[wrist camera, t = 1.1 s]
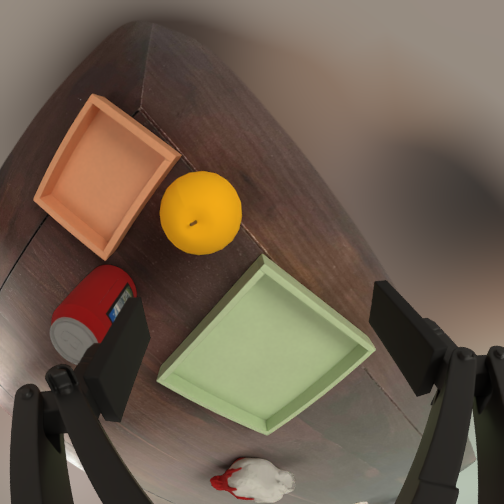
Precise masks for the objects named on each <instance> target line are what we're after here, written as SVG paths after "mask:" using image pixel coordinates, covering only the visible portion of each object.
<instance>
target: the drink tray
mask: <svg viewBox="0 0 504 504" xmlns="http://www.w3.org/2000/svg"><path fill="white" fill-rule="evenodd" d="M181 156H182V155H181V154H180V153H178V152H177V151H176V150H174V149H173V148H172V147H170V146H169V145H168V144H167V143H165V142H164V141H163V140H161V139H160V138H159V137H157V136H156V135H155V134H153V133H152V132H151V131H149V130H148V129H147V128H145V127H144V126H143V125H141V124H140V123H139V122H137V121H136V120H135V119H133V118H132V117H131V116H129V115H128V114H126V113H125V112H124V111H122V110H121V109H120V108H118V107H117V106H116V105H114V104H113V103H111V102H110V101H109V100H107V99H106V98H104V97H102V96H98V95H95V94H92V95H91V96H90V98H89V99H88V101H87V102H86V104H85V105H84V107H83V108H82V110H81V111H80V113H79V114H78V116H77V118H76V119H75V121H74V122H73V124H72V126H71V127H70V129H69V131H68V132H67V134H66V136H65V138H64V139H63V141H62V143H61V145H60V146H59V148H58V150H57V152H56V154H55V156H54V158H53V159H52V161H51V163H50V165H49V167H48V169H47V171H46V173H45V175H44V177H43V179H42V181H41V184H40V186H39V188H38V190H37V192H36V195H35V197H34V199H33V200H34V201H35V202H36V203H37V204H38V205H39V206H40V207H41V208H42V209H44V210H45V211H46V212H47V213H48V214H49V215H50V216H51V217H53V218H54V219H55V220H56V221H57V222H58V223H60V224H61V225H62V226H63V227H64V228H65V229H67V230H68V231H69V232H70V233H71V234H72V235H74V236H75V237H76V238H77V239H78V240H80V241H81V242H82V243H83V244H85V245H86V246H87V247H88V248H89V249H91V250H92V251H93V252H94V253H96V254H97V255H98V256H99V257H101V258H102V259H103V260H105V261H106V260H107V259H108V258H109V257H110V256H111V255H112V254H113V253H114V252H115V251H116V249H117V248H118V246H119V244H120V243H121V241H122V240H123V238H124V237H125V235H126V234H127V232H128V230H129V229H130V227H131V226H132V224H133V223H134V221H135V220H136V218H137V217H138V215H139V214H140V212H141V211H142V210H143V208H144V207H145V205H146V204H147V202H148V201H149V199H150V198H151V197H152V195H153V194H154V192H155V191H156V190H157V188H158V187H159V185H160V184H161V183H162V181H163V180H164V179H165V177H166V176H167V175H168V173H169V172H170V171H171V169H172V168H173V167H174V165H175V164H176V163H177V161H178V160H179V159H180V157H181Z"/></svg>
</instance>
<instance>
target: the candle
mask: <svg viewBox="0 0 504 504" xmlns="http://www.w3.org/2000/svg"><path fill="white" fill-rule="evenodd" d="M293 476H294V474H291V472H288V471H286V470H279V469H278V468H277V467H275V466H274V465H273V464H272V463H271V462H269V461H268V460H265V459H260V458H245V457H244V458H239V459H237V460H236V461H234V463H233V464H232V465H231V467H230V468H229V469H228V470H227V471H226V472H225V473H224V474H223V475H221V476H214V477H213V478H211V479H210V482H211V485H212V486H213V487H214V488H216V490H225V491H228V492H230V493H231V494H232V495H234V496H235V497H236V498H237V499H242V500H253V501H255V502H256V503H259V502H267V503H272V502H276V501H278V500H280V499H281V498H282V497H283V494H287V493H290V492H291V491H293V490H294V487H295V484H292V483H294V482H295V480H294V477H293Z"/></svg>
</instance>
